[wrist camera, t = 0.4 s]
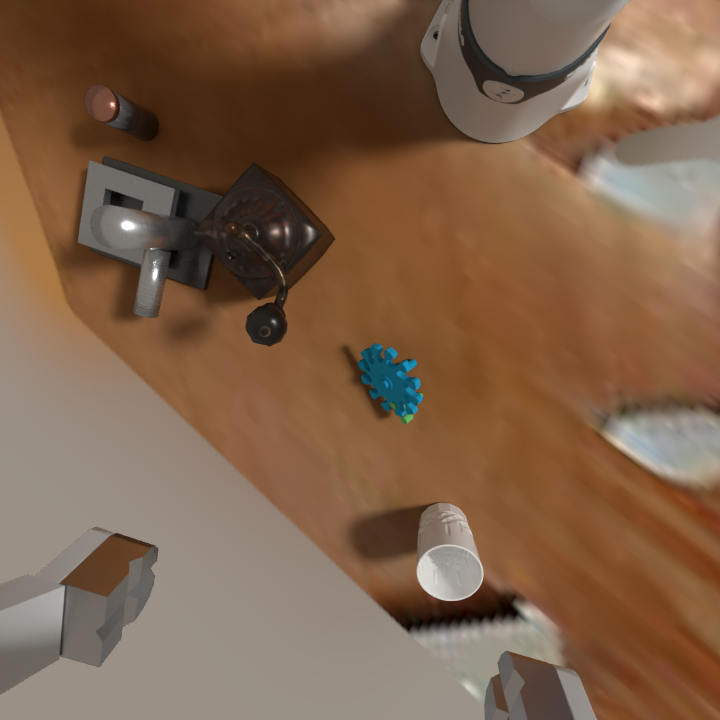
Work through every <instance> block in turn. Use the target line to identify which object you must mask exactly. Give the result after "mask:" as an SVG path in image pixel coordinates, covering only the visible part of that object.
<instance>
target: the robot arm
mask: <svg viewBox="0 0 720 720" xmlns="http://www.w3.org/2000/svg"><path fill="white" fill-rule="evenodd" d="M629 1H630V0H442V2H441V4H440V6H439V8H438V10H437V12H436V14H435V16H434V18H433V20H432V22H431V24H430V26H429V28H428V30H427V32H426V34H425V36H424V38H423V40H422V42H421V46H420V55H421V58H422V60H423V61H424V63H425V65H426V66H427V67H428V69H429V70H430V72H431V73H432V74H433V77H434V80H435V83H436V88H437V93H438V97H439V100H440V103H441V106H442V108H443V110H444V112H445V114H446V115H447V117H448V118H449V120H450V121H451V122H452V123H453V124H454V126H456V127H457V128H458V129H459V130H460V131H461V132H463V133H464V134H466V135H468V136H469V137H471V138H474V139H476V140H479V141H483V142H490V143H502V142H509V141H513V140H516V139H519V138H522V137H524V136H526V135H528V134H530V133H531V132H533V131H535V130H536V129H537V128H539V127H540V126H541V125H542V124H544V123H545V122H546V121H547V120H549V119H550V118H551V117H553V116H555V115H556V114H560V113H563V112H566V111H569V110H572V109H574V108H576V107H578V106H580V105H581V104H582V103H583V101H584V100H585V99H586V97H587V95H588V92H589V87H590V83H591V78H592V74H593V70H594V69H595V66H596V62H595V61H596V56H597V52H598V47H599V44H600V42H601V41H602V39H603V37H604V36H605V34H606V32H607V30H608V28H609V27H610V24H611V22H612V21H613V20H614V19H615V18H616V16H617V15H618V14H619V13H620V12H621V11H622V9H623V8H624V7H625V6H626V5H627V4H628V2H629ZM435 34H438V37H437V40H436V39H434V38H433V36H434V35H435ZM157 556H158V548H157V547H156V546H155V545H151V544H149V543H146V542H143V541H140V540H137V539H133V538H130V537H127V536H124V535H121V534H118V533H113V532H111V531H107V530H105V529H102V528H99V527H94V528H92V529H89V530H88V531H87V532H85V533H84V534H83V535H82V536H81V537H80V538H78V539H77V540H76V541H75V542H74V543H73V544H71V545H70V546H69V547H68V548H67V549H65V550H64V551H63V552H62V553H61V554H60V555H59V556H57V557H56V558H55V559H54V560H53V561H51V562H50V563H49V564H48V565H47V566H46V567H44V568H43V569H42V570H41V571H40V572H38V573H37V574H36V575H35V576H32V575H28V574H27V575H24V576H21V577H19V578H16V579H13V580H10V581H7V582H4V583H1V584H0V695H1V694H2V693H4V692H5V691H7V690H9V689H10V688H12V687H14V686H16V685H17V684H19V683H20V682H22V681H24V680H25V679H27V678H29V677H30V676H32V675H34V674H35V673H37V672H39V671H40V670H42V669H44V668H45V667H47V666H48V665H50V664H52V663H53V662H55V661H57V660H58V659H59V657H60V656H61V657H64V658H68V659H71V660H75V661H78V662H83V663H86V664H89V665H93V666H96V667H100V666H101V665H102V663H103V662H104V661H105V659H106V658H107V657H108V655H109V654H110V653H111V651H112V650H113V649H114V648H115V646H116V645H117V644H118V642H119V641H120V640H121V636H122V629H123V626H125V625H127V624H129V623H131V622H133V621H135V620H136V618H137V617H138V615H139V614H140V613H141V611H142V610H143V608H144V606H145V604H146V602H147V600H148V598H149V597H150V594H151V591H152V588H153V585H154V579H155V575H154V573H153V572H152V570H151V567H152V566H153V565H154V564H155V562H156V561H157ZM498 668H499V673H500V674H498V675H496V676H494V677H492V678H491V679H490V682H489V685H488V687H487V690H486V697H485V704H484V707H485V720H597V719H596V717H595V715H594V712H593V710H592V707H591V705H590V702H589V700H588V697H587V695H586V693H585V690H584V688H583V685H582V683H581V680H580V678H579V676H578V674H577V673H576V672H575V671H574V670H571V669H568V668H564V667H561V666H557V665H554V664H549V663H547V662H543V661H540V660H536V659H533V658H529V657H526V656H522V655H519V654H516V653H512V652H509V651H505V652H504V653H503V654H501V657H500V659H499V661H498Z"/></svg>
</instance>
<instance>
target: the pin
mask: <svg viewBox="0 0 720 720" xmlns="http://www.w3.org/2000/svg"><path fill="white" fill-rule="evenodd" d="M85 107H86V109H87V111H88V113H89V114H90V115H91V116H92V117H93V118H94V119H96V120H98V121H101V122H103V123H105V124H107V125H110V126H112V127H114V128H116V129H119V130H121V131H123V132H126V133H128V134H130V135H132V136H135V137H137V138H139V139H141V140H144V141H149V140H152V139H153V138H154V137H155V136H156V135H157V133H158V121H157V119H156V117H155V116H154V115H153V114H152V113H151V112H149V111H147V110H146V109H144V108H142V107H140V106H139V105H137V104H135V103H133V102H132V101H130V100H128V99H126V98H124V97H123V96H121V95H119V94H117V93H116V92H114V91H112V90H110V89H108V88H107V87H105V86H103V85H94V86H92V87H90V88H89V89H88V90H87V92H86V95H85Z"/></svg>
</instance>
